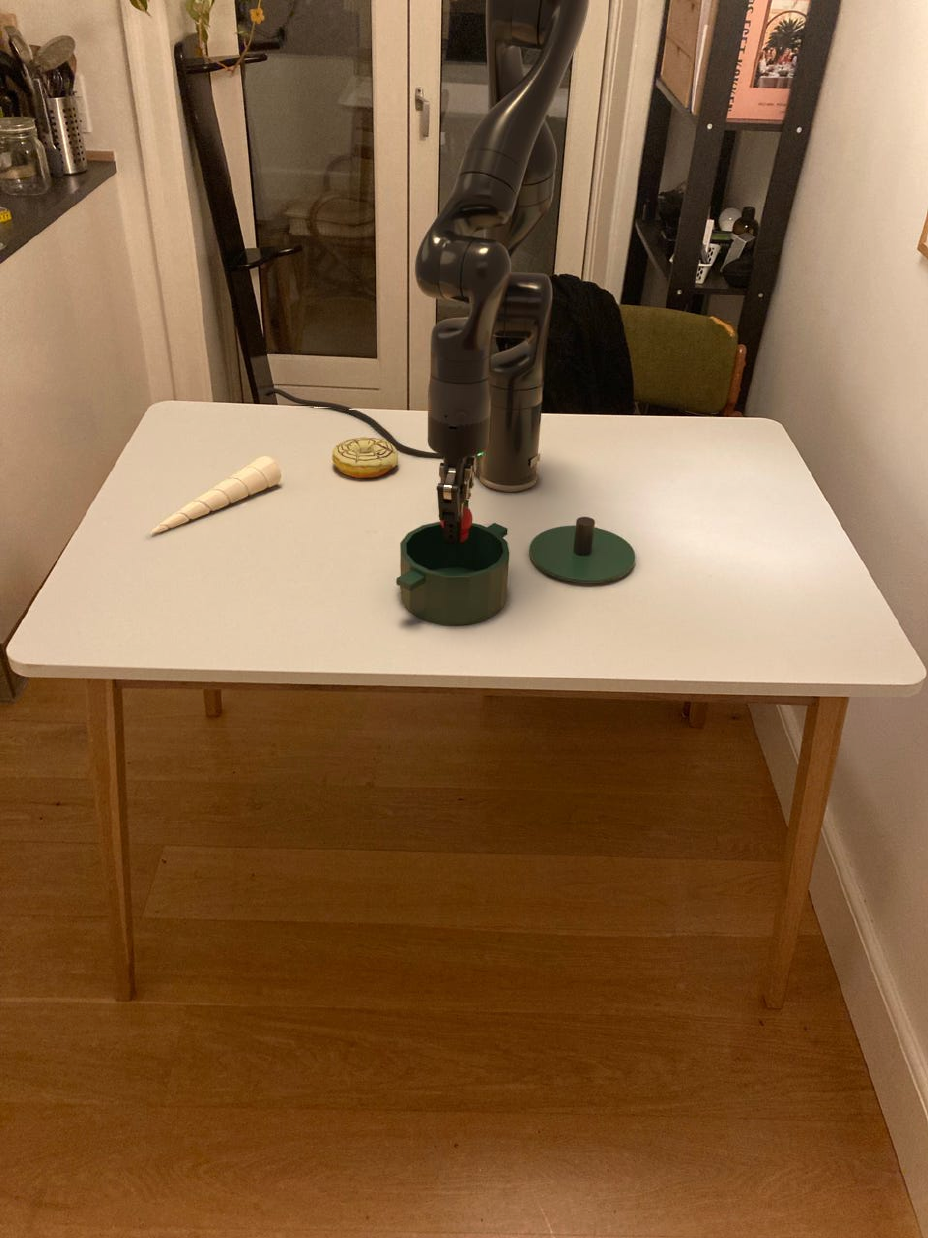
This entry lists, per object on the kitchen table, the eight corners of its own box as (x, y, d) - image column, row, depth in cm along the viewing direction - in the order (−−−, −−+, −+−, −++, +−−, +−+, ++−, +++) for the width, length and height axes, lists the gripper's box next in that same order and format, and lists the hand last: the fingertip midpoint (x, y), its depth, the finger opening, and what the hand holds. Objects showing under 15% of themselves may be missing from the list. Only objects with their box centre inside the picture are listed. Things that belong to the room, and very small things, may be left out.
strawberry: (432, 536, 128) (433, 498, 124) (454, 525, 130) (455, 487, 127) (457, 548, 125) (458, 509, 122) (478, 536, 128) (480, 497, 125)
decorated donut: (409, 472, 163) (409, 451, 161) (352, 487, 158) (352, 466, 156) (378, 448, 170) (377, 428, 168) (322, 462, 165) (321, 441, 163)
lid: (507, 559, 141) (510, 521, 138) (569, 521, 151) (573, 485, 147) (595, 599, 133) (600, 561, 130) (654, 556, 143) (660, 520, 139)
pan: (364, 604, 131) (363, 556, 126) (460, 549, 143) (462, 503, 139) (444, 648, 123) (445, 598, 119) (538, 585, 136) (542, 539, 131)
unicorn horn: (136, 527, 145) (130, 498, 143) (265, 477, 160) (263, 450, 157) (153, 539, 143) (148, 510, 140) (284, 487, 157) (281, 460, 155)
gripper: (440, 384, 124) (438, 505, 134) (415, 430, 113) (415, 558, 122) (499, 390, 123) (492, 511, 133) (480, 436, 112) (474, 565, 121)
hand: (455, 533), depth 128 cm, fingers closed on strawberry, 4 cm apart
